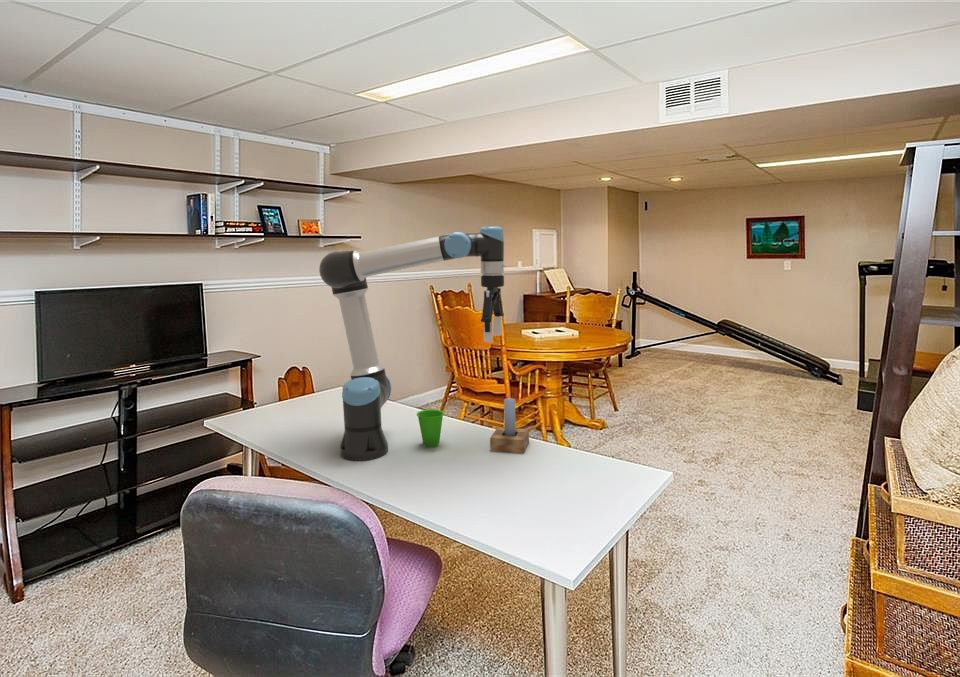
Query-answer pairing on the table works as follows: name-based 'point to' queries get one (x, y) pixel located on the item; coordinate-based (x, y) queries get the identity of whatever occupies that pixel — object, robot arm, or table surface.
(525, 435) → the wooden socket block
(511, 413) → the blue-grey rounded rod
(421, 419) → the cup
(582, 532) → the table surface
